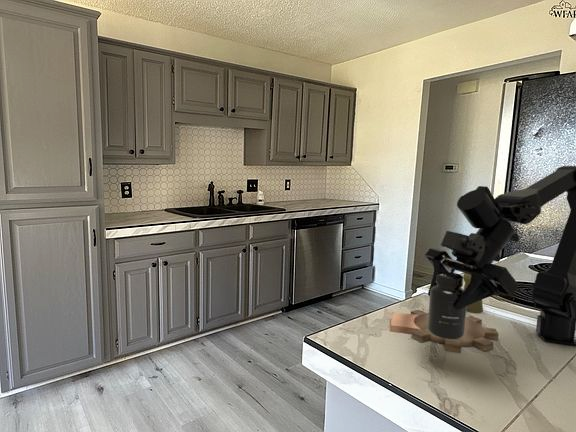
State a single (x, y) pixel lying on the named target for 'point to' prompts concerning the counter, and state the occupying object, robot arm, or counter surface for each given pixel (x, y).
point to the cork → (476, 306)
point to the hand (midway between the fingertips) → (442, 301)
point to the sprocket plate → (419, 331)
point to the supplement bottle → (446, 307)
